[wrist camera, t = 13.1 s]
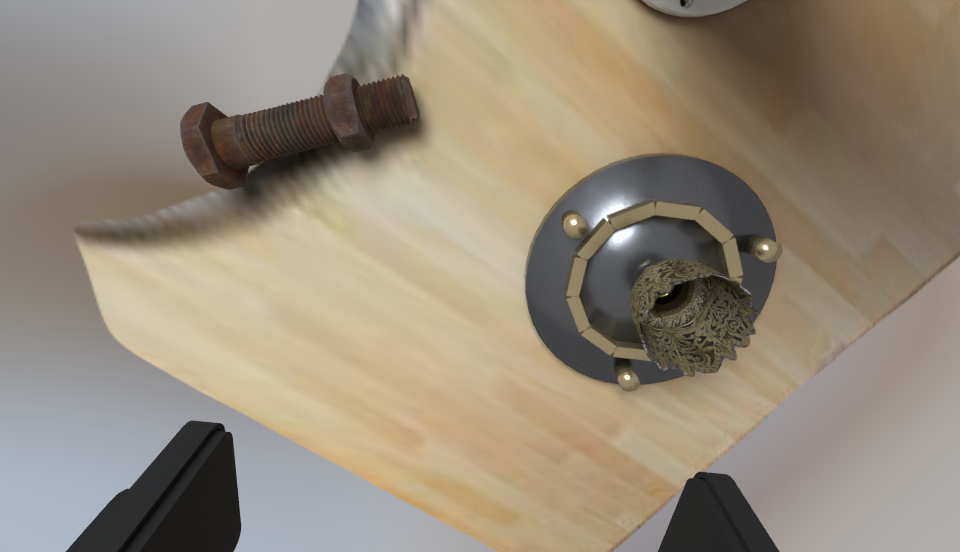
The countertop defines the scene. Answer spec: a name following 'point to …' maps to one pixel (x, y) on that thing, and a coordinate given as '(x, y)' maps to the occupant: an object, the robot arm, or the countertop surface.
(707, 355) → the dark hollow rounded piece
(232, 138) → the bolt
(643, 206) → the carrier plate
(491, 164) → the countertop surface
